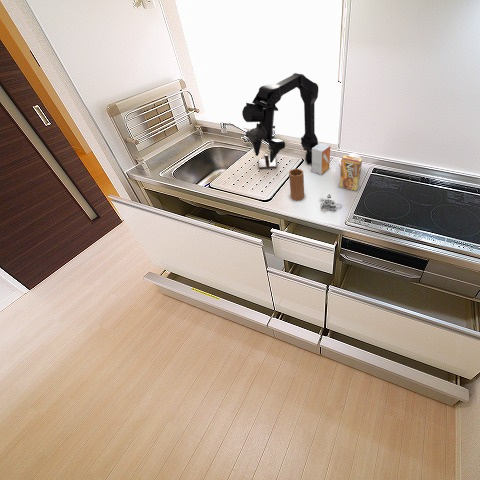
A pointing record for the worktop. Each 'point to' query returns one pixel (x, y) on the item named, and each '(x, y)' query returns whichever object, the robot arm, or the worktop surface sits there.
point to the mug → (351, 156)
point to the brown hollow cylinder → (296, 184)
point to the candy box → (350, 172)
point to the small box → (320, 158)
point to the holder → (266, 163)
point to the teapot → (328, 205)
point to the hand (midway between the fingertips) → (263, 159)
